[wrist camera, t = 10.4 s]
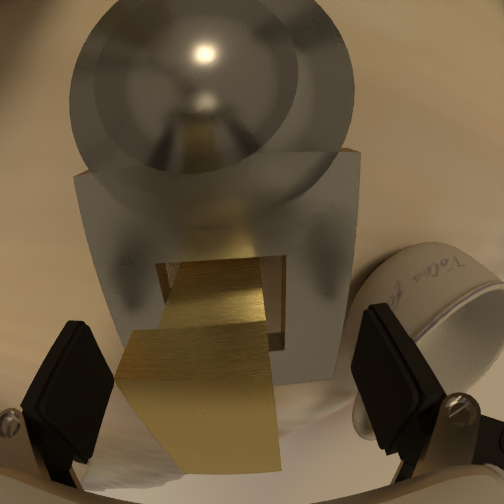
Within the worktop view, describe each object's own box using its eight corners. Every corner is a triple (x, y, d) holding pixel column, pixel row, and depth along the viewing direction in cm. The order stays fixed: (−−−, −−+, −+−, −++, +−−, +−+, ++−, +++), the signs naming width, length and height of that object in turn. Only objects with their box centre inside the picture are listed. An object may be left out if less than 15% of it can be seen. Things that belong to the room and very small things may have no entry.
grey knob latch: (122, 34, 11) (23, -20, 3) (307, 18, 11) (381, -64, 3) (163, 315, 19) (132, 432, 11) (308, 306, 19) (346, 423, 11)
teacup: (405, 190, 16) (495, 247, 9) (475, 269, 19) (534, 327, 12) (273, 348, 20) (288, 444, 13) (367, 383, 24) (395, 454, 16)
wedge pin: (192, 204, 16) (113, 379, 5) (251, 196, 15) (271, 373, 5) (209, 289, 18) (185, 473, 7) (261, 283, 18) (281, 470, 7)
